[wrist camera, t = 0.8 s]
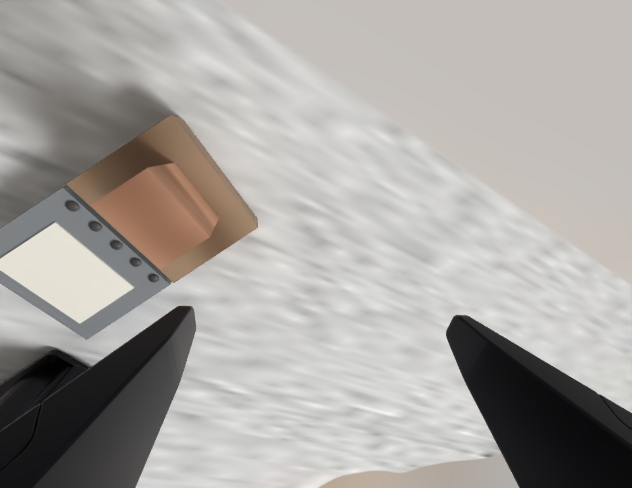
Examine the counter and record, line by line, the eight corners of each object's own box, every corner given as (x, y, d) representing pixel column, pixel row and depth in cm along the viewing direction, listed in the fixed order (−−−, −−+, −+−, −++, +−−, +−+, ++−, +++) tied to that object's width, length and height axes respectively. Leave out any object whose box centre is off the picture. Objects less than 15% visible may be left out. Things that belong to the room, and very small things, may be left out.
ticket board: (106, 317, 19) (85, 340, 17) (0, 240, 16) (-44, 256, 14) (179, 268, 19) (169, 285, 17) (89, 181, 16) (61, 187, 14)
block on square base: (183, 267, 19) (152, 319, 13) (92, 179, 16) (-3, 196, 10) (257, 218, 19) (259, 248, 13) (183, 119, 16) (141, 102, 10)
